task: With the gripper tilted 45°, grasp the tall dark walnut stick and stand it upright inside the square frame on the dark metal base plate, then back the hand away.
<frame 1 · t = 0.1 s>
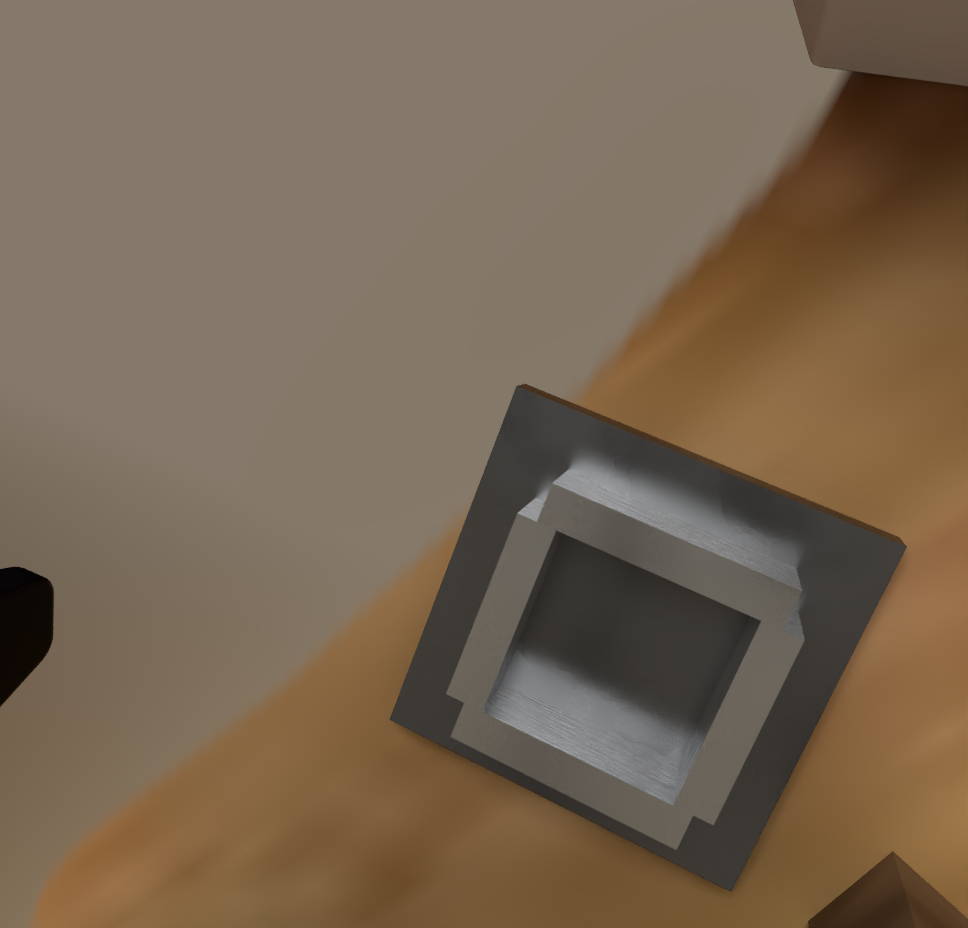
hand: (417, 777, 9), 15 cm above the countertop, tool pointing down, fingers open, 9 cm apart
square frame on plate: (629, 628, 24), on the countertop
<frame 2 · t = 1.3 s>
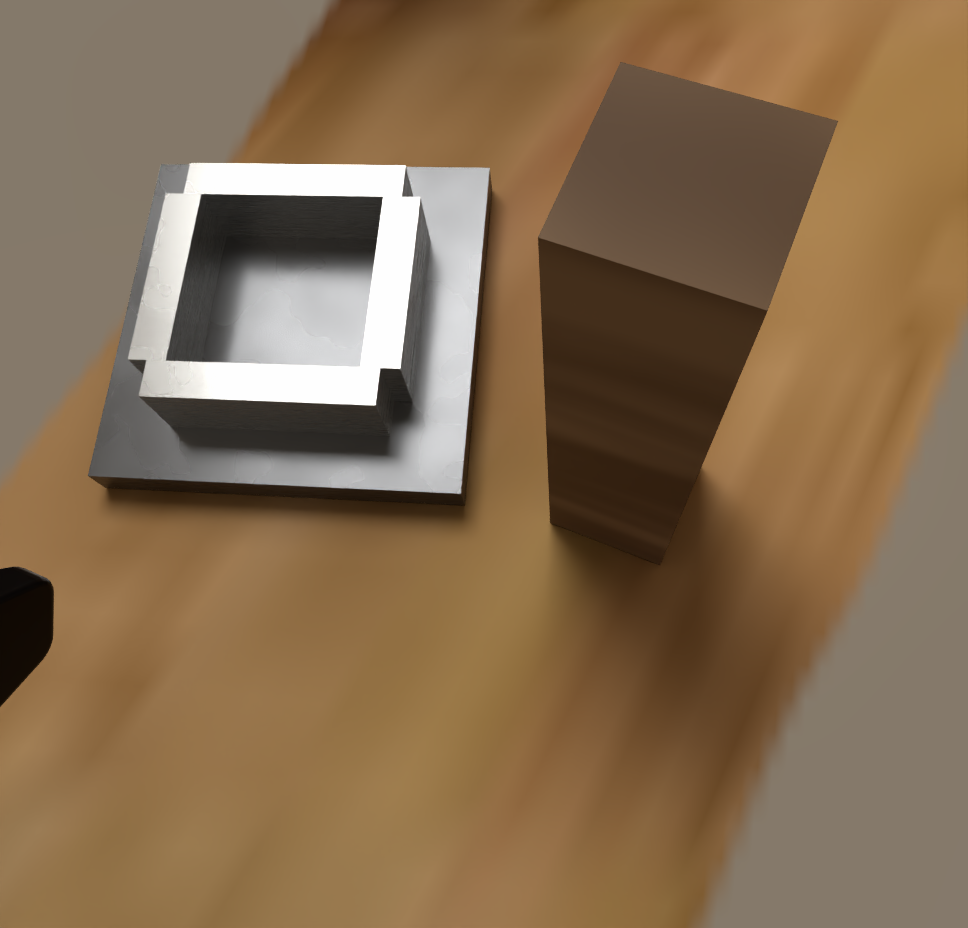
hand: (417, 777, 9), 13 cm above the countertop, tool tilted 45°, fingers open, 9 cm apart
square frame on plate: (307, 331, 26), on the countertop
walnut stick: (624, 492, 24), on the countertop
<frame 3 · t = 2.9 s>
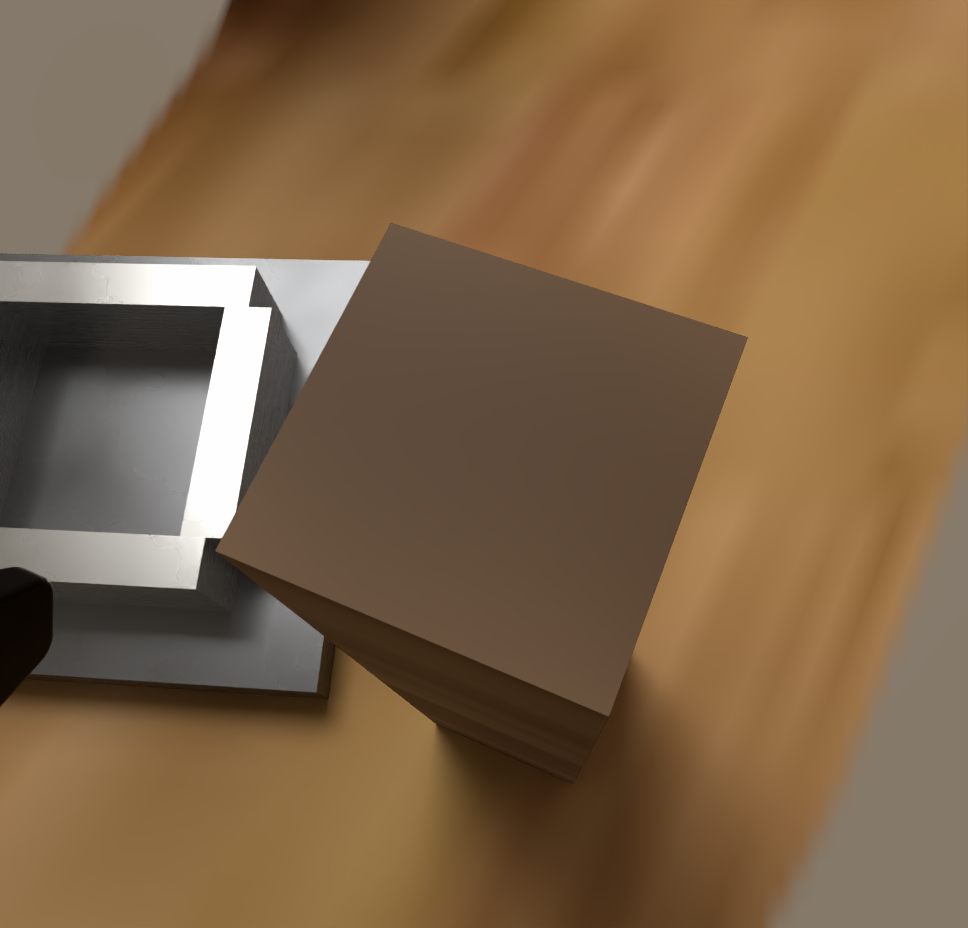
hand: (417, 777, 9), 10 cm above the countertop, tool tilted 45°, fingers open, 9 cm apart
square frame on plate: (145, 464, 21), on the countertop
walnut stick: (530, 682, 19), on the countertop
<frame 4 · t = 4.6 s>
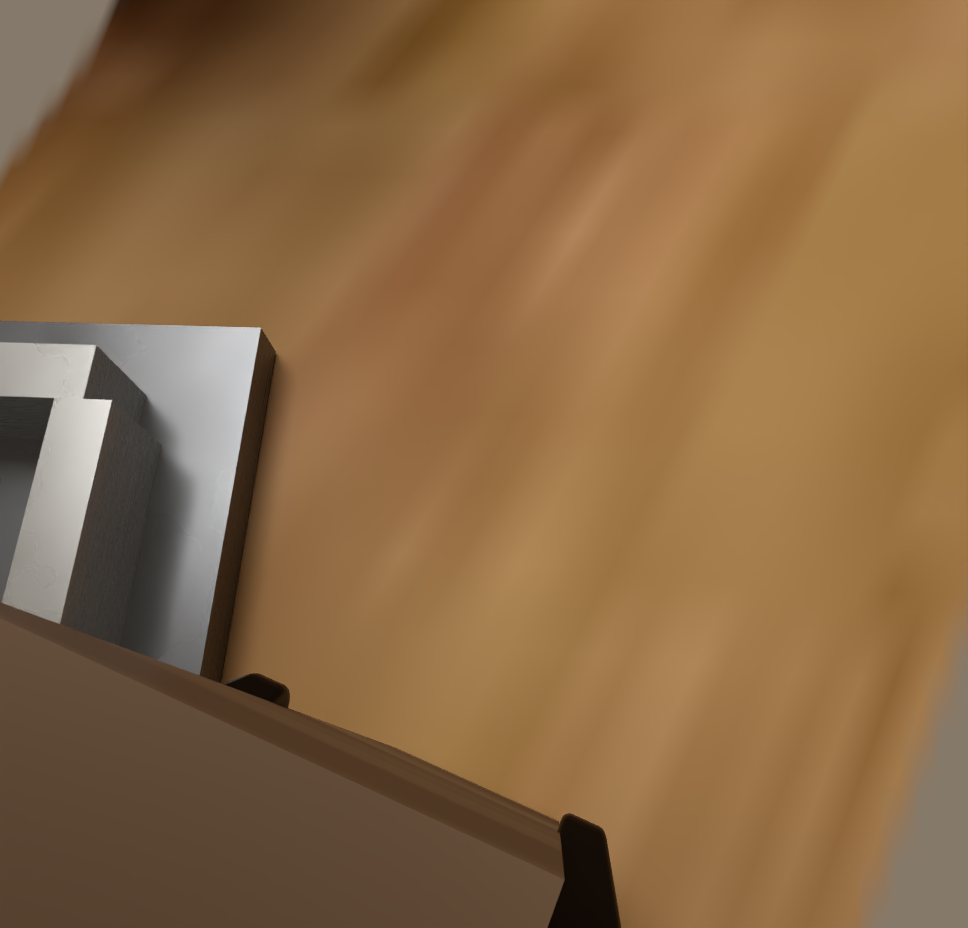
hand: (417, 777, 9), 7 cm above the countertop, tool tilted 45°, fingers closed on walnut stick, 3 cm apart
walnut stick: (439, 873, 15), on the countertop, touching gripper
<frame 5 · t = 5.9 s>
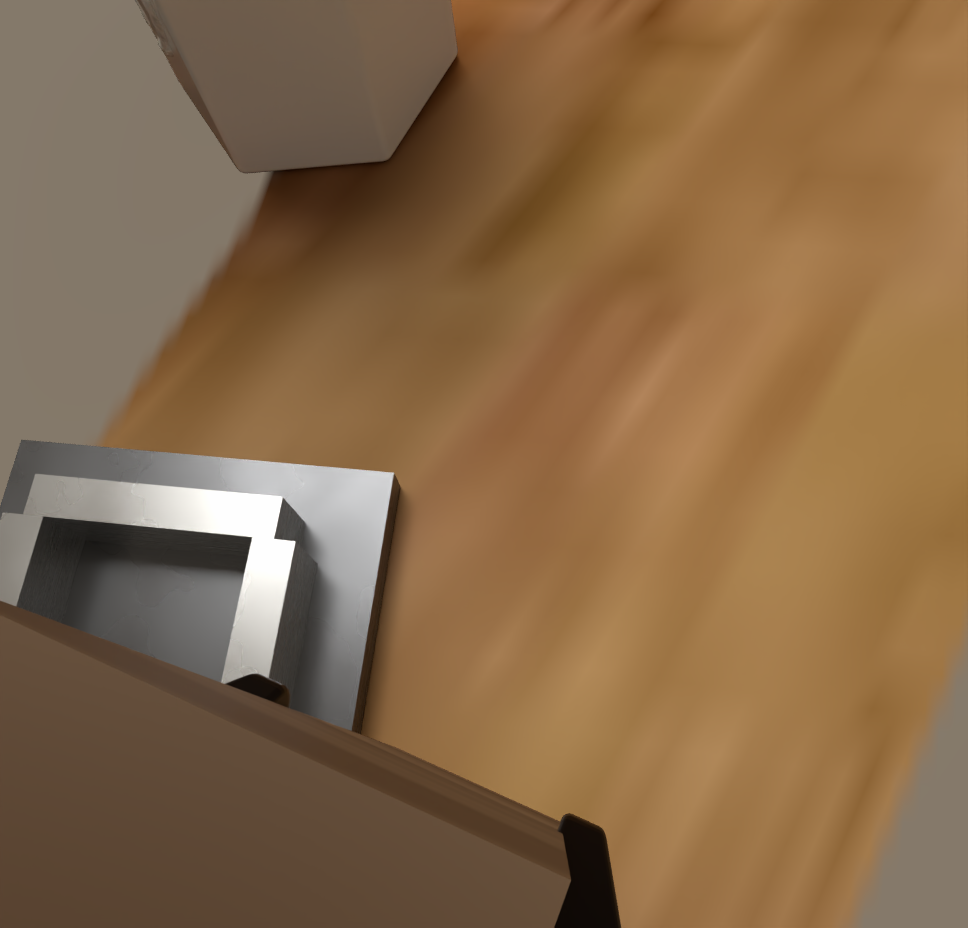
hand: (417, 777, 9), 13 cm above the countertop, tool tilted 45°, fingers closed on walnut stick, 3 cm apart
jar: (320, 75, 29), on the countertop
square frame on plate: (172, 657, 23), on the countertop
walnut stick: (441, 873, 15), point 6 cm above the countertop, touching gripper
when the fingers open (9 cm above the countertop, at t = 7.4 s): walnut stick drops 2 cm, resting on square frame on plate.
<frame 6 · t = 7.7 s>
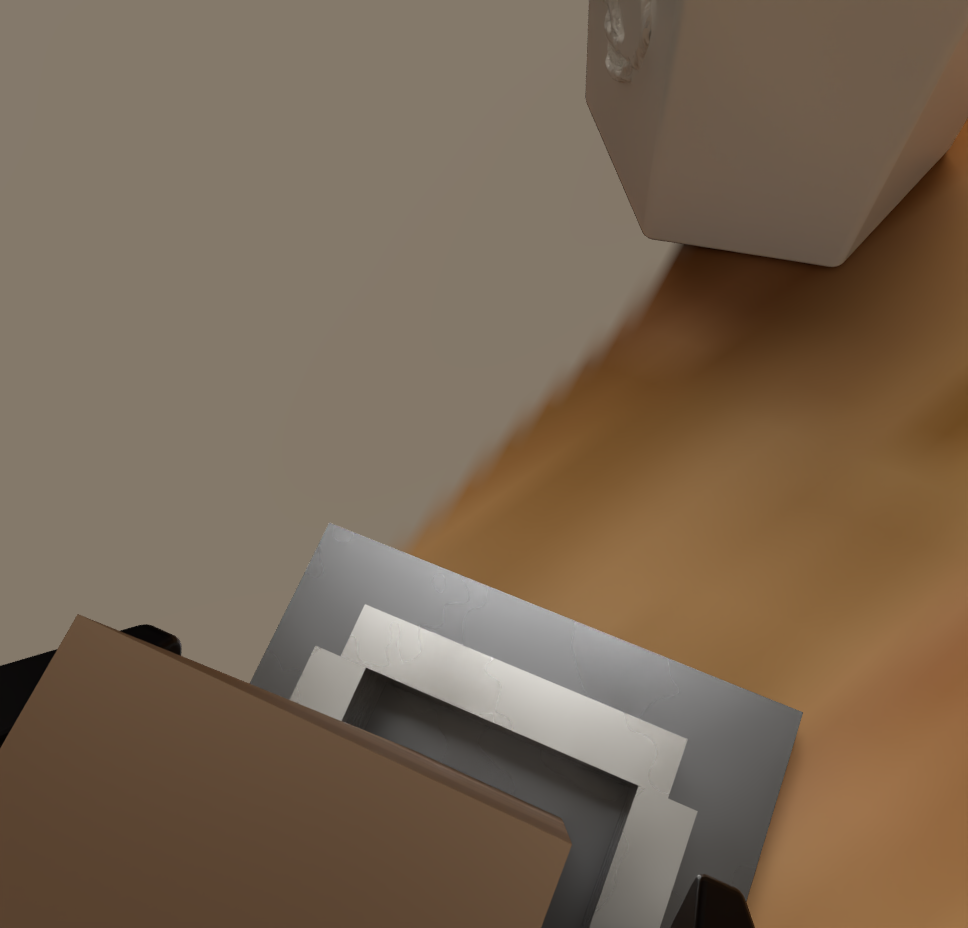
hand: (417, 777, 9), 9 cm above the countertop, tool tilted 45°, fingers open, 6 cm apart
jar: (758, 132, 23), on the countertop
square frame on plate: (457, 862, 17), on the countertop
walnut stick: (453, 864, 17), point 1 cm above the countertop, touching square frame on plate
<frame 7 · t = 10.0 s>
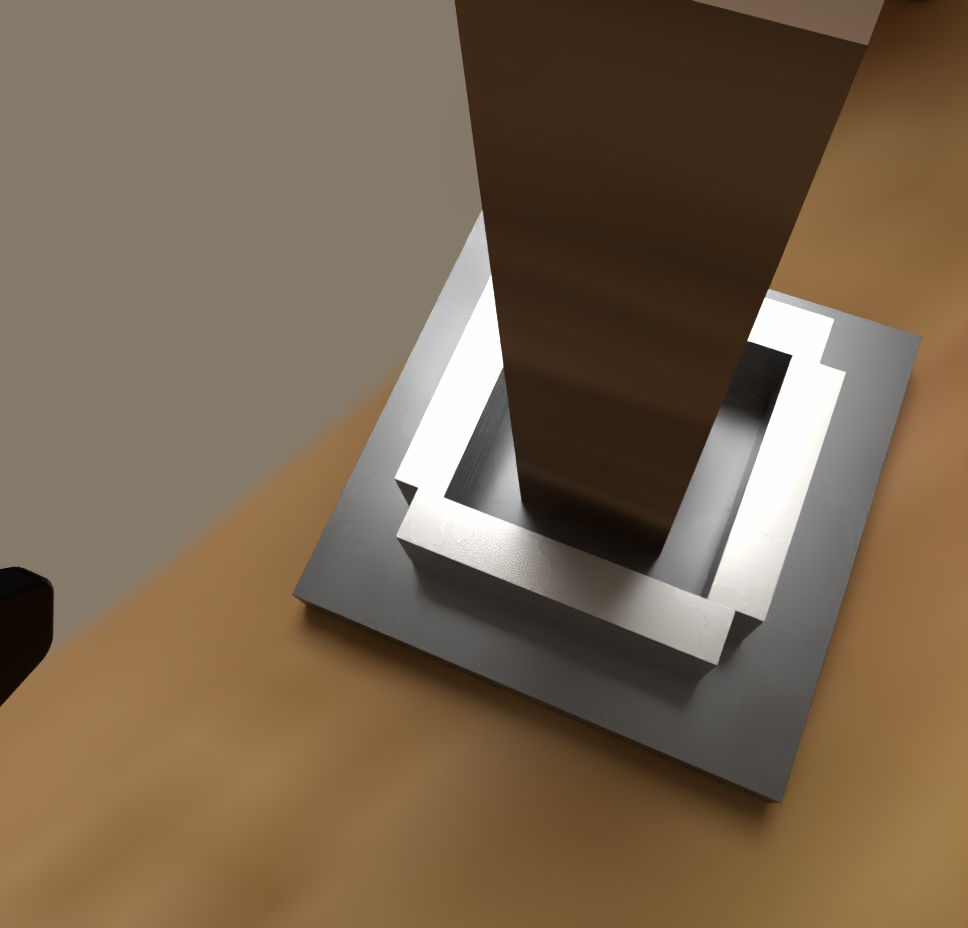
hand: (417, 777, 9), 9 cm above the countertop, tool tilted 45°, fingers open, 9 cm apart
square frame on plate: (611, 478, 20), on the countertop
walnut stick: (616, 461, 19), point 1 cm above the countertop, touching square frame on plate
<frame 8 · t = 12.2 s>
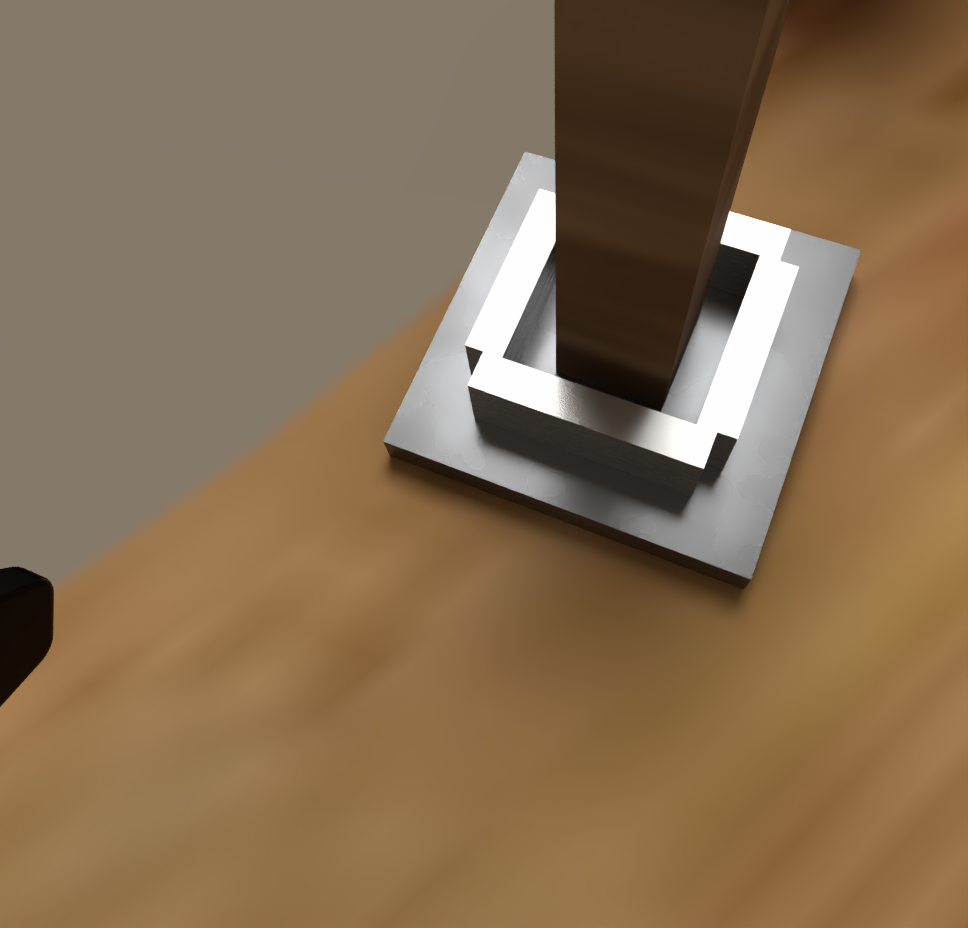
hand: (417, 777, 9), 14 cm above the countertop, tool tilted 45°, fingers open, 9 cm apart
square frame on plate: (624, 360, 26), on the countertop
walnut stick: (628, 343, 25), point 1 cm above the countertop, touching square frame on plate
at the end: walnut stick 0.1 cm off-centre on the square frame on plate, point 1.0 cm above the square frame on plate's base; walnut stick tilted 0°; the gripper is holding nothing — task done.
